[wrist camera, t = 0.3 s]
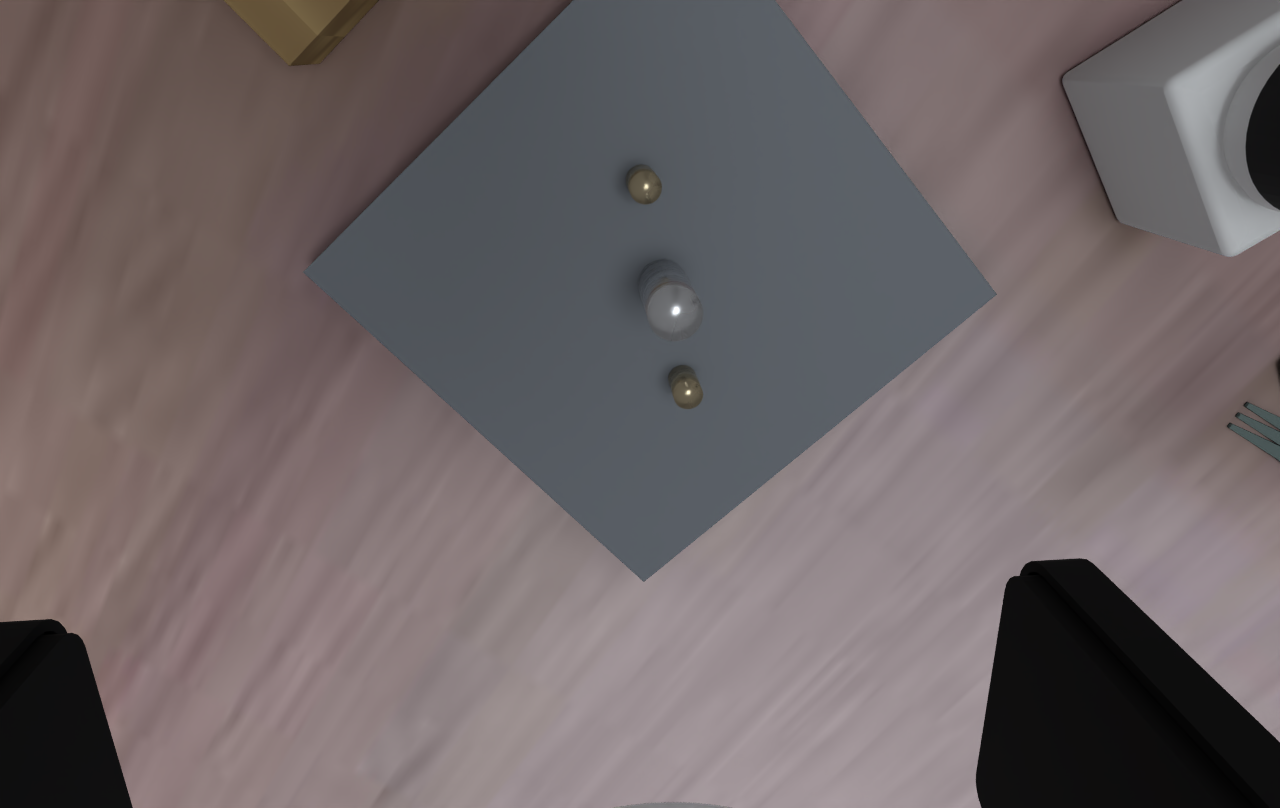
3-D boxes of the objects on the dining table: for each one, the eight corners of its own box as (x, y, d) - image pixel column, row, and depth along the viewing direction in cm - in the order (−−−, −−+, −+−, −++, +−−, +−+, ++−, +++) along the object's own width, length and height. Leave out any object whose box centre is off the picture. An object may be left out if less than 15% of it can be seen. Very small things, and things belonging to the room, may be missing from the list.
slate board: (682, -109, 32) (687, -115, 31) (981, 285, 39) (996, 294, 37) (313, 263, 36) (303, 272, 35) (641, 564, 43) (643, 581, 41)
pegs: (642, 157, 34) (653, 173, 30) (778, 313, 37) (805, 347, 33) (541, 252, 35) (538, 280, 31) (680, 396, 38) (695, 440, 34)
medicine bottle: (1116, 225, 38) (1341, 299, 27) (1055, 76, 36) (1276, 90, 25) (1272, 132, 37) (1571, 169, 26) (1221, -28, 35) (1528, -62, 24)
